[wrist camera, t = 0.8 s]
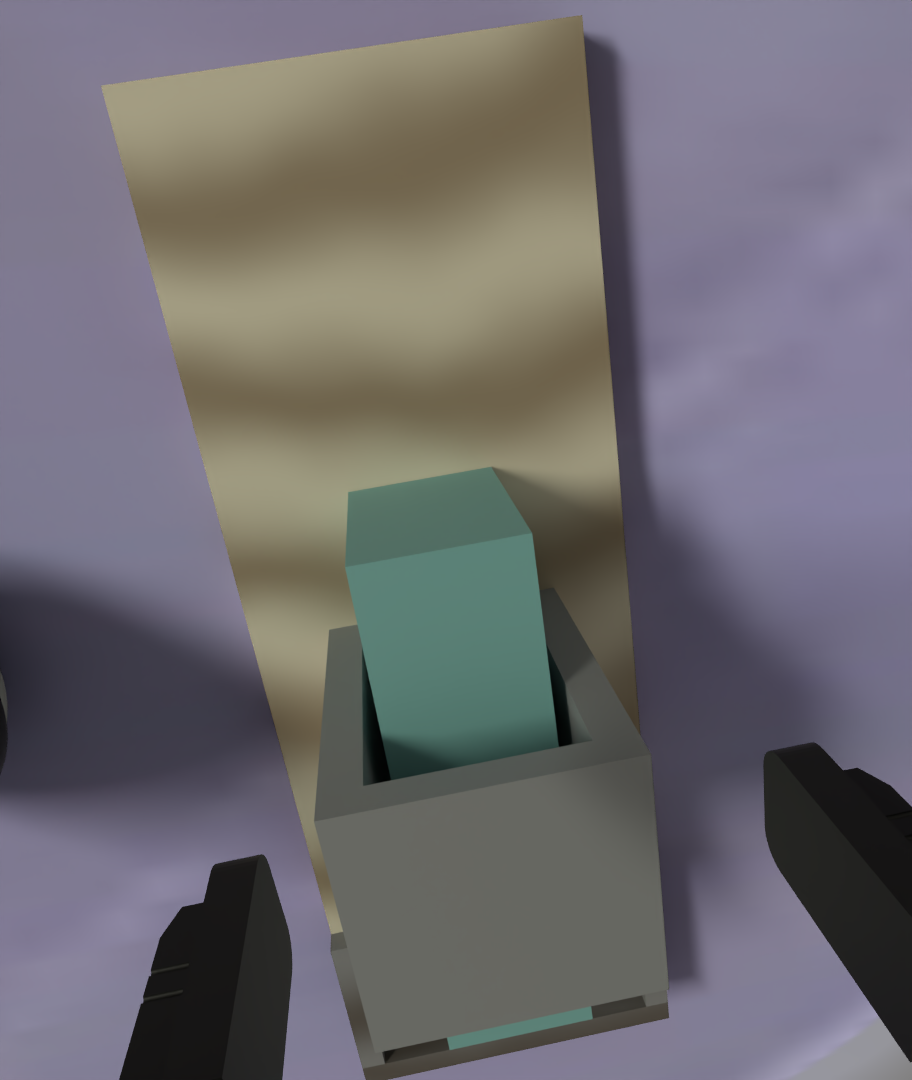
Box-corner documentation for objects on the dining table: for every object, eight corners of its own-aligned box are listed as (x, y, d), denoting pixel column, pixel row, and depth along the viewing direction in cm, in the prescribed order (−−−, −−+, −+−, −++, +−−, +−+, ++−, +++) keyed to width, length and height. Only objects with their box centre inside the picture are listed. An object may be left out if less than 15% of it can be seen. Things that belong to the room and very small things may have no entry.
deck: (115, 95, 24) (91, 79, 22) (569, 28, 25) (590, 6, 23) (366, 1035, 38) (367, 1083, 36) (651, 973, 39) (668, 1017, 37)
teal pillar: (348, 492, 27) (344, 567, 21) (491, 466, 28) (532, 532, 21) (432, 895, 34) (449, 1049, 27) (547, 871, 34) (592, 1018, 27)
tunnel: (329, 629, 29) (313, 821, 19) (554, 587, 30) (651, 754, 20) (370, 806, 32) (375, 1053, 22) (574, 765, 32) (669, 989, 23)
